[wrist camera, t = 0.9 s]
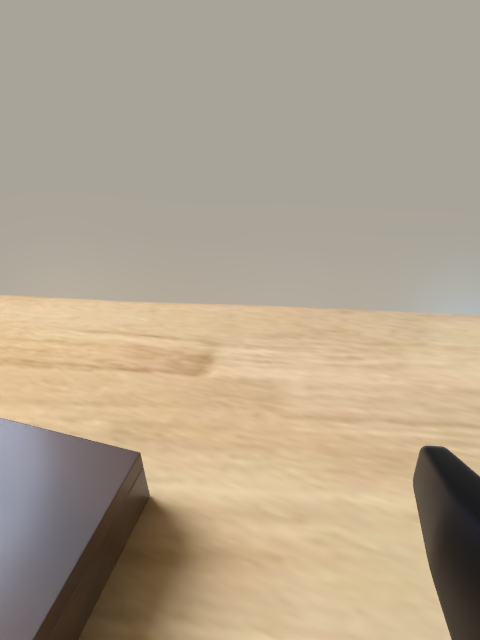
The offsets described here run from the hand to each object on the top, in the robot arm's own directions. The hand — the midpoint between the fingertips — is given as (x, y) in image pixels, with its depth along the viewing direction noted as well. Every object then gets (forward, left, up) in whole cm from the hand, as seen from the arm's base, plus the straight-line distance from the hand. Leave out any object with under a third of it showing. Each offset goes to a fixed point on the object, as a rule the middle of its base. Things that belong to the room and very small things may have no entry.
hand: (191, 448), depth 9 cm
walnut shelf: (+3, +12, -16) cm, 21 cm away
